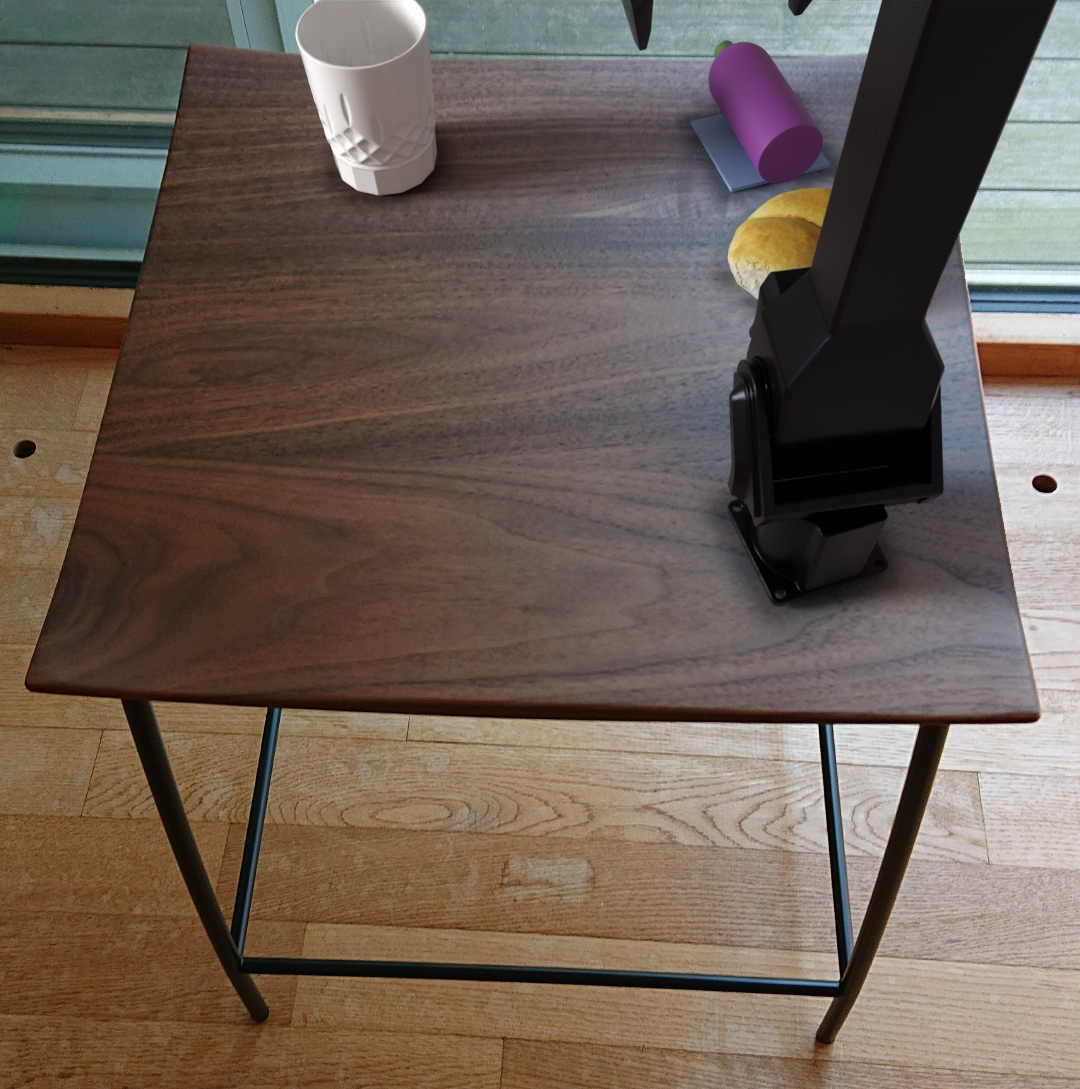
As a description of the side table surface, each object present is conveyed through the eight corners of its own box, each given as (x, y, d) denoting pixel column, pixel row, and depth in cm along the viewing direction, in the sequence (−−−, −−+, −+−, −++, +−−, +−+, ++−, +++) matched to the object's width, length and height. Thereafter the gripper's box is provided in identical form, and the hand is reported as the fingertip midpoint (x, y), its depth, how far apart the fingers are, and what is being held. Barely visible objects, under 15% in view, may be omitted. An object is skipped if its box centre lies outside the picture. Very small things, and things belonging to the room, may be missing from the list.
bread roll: (897, 256, 67) (915, 206, 64) (811, 338, 64) (824, 291, 61) (790, 194, 70) (801, 143, 67) (702, 270, 67) (709, 221, 64)
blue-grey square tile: (829, 167, 71) (830, 163, 71) (730, 192, 70) (731, 189, 70) (785, 101, 75) (786, 98, 74) (690, 124, 74) (691, 121, 74)
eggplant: (775, 124, 66) (707, 17, 71) (747, 183, 69) (684, 77, 75) (835, 126, 67) (763, 21, 73) (804, 184, 71) (738, 79, 76)
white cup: (316, 140, 74) (281, 4, 66) (425, 110, 75) (405, -27, 67) (346, 216, 70) (314, 82, 62) (461, 183, 72) (445, 48, 63)
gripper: (872, -408, 52) (812, -81, 66) (500, -343, 50) (517, -19, 63) (987, -309, 47) (896, 26, 60) (574, -231, 44) (575, 98, 58)
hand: (717, 28), depth 60 cm, fingers open, 9 cm apart
